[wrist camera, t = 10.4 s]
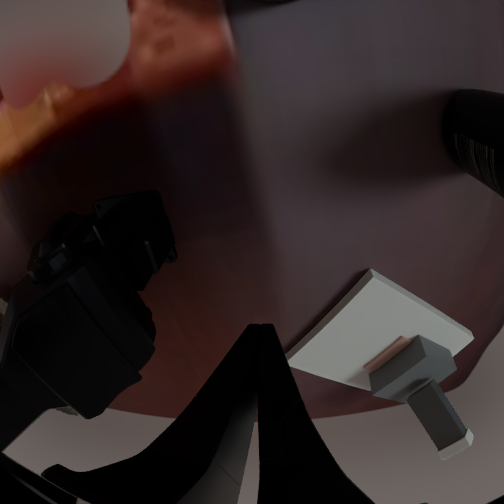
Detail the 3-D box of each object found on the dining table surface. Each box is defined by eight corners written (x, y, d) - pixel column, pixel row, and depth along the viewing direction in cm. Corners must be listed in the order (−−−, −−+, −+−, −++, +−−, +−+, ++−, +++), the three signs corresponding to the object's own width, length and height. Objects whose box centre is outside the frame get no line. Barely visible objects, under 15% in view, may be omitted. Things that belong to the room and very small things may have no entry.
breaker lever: (403, 402, 26) (442, 461, 20) (431, 384, 23) (470, 446, 18) (410, 394, 27) (446, 451, 21) (435, 376, 25) (473, 436, 19)
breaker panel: (284, 355, 31) (282, 387, 27) (370, 268, 23) (381, 301, 20) (394, 390, 34) (399, 415, 30) (470, 331, 27) (482, 357, 23)
